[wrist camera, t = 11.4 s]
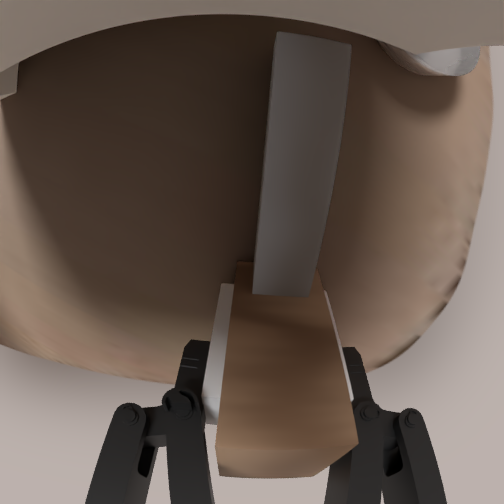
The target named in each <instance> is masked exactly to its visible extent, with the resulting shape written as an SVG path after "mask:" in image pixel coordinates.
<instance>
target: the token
mask: <svg viewBox="0 0 504 504" xmlns="http://www.w3.org/2000/svg"><path fill="white" fill-rule="evenodd" d="M376 40H377V39H376ZM377 42H378V43H379V45H380V46H381V47H382V49H383V50H384V51H385V52H386V53H387V54H388V56H389V57H390V58H392V59H393V60H394V61H395V62H396V63H398V64H399V65H400V66H402V67H403V68H405V69H407V70H409V71H411V72H413V73H416V74H419V75H425V76H461V75H465V74H467V73H469V72H471V71H472V70H473V69H474V68H475V66H476V64H477V62H478V60H479V55H480V46H475V47H463V48H454V49H446V50H439V51H432V52H426V53H421V54H416V55H415V54H413V53H411V52H408V51H406V50H404V49H401V48H399V47H396V46H394V45H391V44H388V43H386V42H383V41H380V40H377Z"/></svg>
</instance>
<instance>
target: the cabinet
mask: <svg viewBox="0 0 504 504" xmlns="http://www.w3.org/2000/svg"><path fill="white" fill-rule="evenodd" d="M204 14H242V15H259V16H271V17H280V18H288V19H295V20H301V21H307V22H312V23H317V24H322V25H327V26H331V27H336V28H340V29H344V30H347V31H351V32H355V33H358V34H361V35H365V36H368V37H371V38H374V39H377V40H380V41H383V42H386V43H388V44H391V45H394V46H396V47H399V48H401V49H404V50H406V51H408V52H411V53H413V54H415V55H416V54H421V53H426V52H432V51H439V50H446V49H454V48H463V47H475V46H499V45H504V0H0V100H1V99H3V98H5V97H8V96H10V95H12V94H14V93H17V76H18V65H19V62H20V61H22V60H24V59H26V58H28V57H30V56H33V55H35V54H37V53H39V52H41V51H44V50H46V49H48V48H51V47H53V46H56V45H58V44H61V43H63V42H66V41H69V40H72V39H74V38H77V37H80V36H84V35H87V34H90V33H93V32H97V31H100V30H104V29H108V28H112V27H116V26H120V25H125V24H130V23H135V22H140V21H146V20H152V19H159V18H167V17H176V16H187V15H204Z"/></svg>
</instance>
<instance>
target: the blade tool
mask: <svg viewBox="0 0 504 504" xmlns="http://www.w3.org/2000/svg"><path fill="white" fill-rule="evenodd" d="M351 50H352V45H350V44H346V43H342V42H338V41H334V40H329V39H324V38H319V37H314V36H308V35H302V34H295V33H288V32H279V31H277V35H276V39H275V43H274V50H273V61H272V72H271V83H270V94H269V104H268V115H267V126H266V137H265V148H264V158H263V169H262V180H261V190H260V201H259V211H258V222H257V232H256V243H255V253H254V262H242V261H237V267H236V275H235V283H234V290H233V298H232V306H231V314H230V322H229V330H228V338H227V346H226V354H225V363H224V371H223V380H222V388H221V397H220V406H219V415H218V424H217V434H216V443H215V449H216V456H217V463H218V469H219V475H220V476H225V477H240V478H297V477H311V476H314V475H316V474H318V473H319V472H320V471H322V470H324V469H325V468H327V467H328V466H329V465H331V464H332V463H334V462H335V461H337V460H338V459H339V458H341V457H342V456H343V455H345V454H346V453H347V452H349V451H350V450H351V449H353V448H354V447H355V446H356V445H358V444H359V442H358V436H357V430H356V425H355V420H354V414H353V409H352V404H351V399H350V395H349V390H348V385H347V381H346V376H345V372H344V367H343V363H342V359H341V355H340V350H339V346H338V342H337V338H336V334H335V330H334V326H333V323H332V319H331V315H330V311H329V308H328V304H327V300H326V297H325V293H324V289H323V286H322V282H321V279H320V276H319V272H318V269H317V267H316V265H317V261H318V257H319V253H320V248H321V244H322V240H323V235H324V231H325V226H326V221H327V217H328V212H329V207H330V202H331V197H332V191H333V186H334V181H335V175H336V169H337V164H338V158H339V151H340V145H341V138H342V132H343V125H344V117H345V110H346V102H347V93H348V84H349V74H350V63H351Z"/></svg>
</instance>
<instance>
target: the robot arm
mask: <svg viewBox="0 0 504 504" xmlns="http://www.w3.org/2000/svg"><path fill="white" fill-rule="evenodd" d="M233 290H234V284H226V283H221V288H220V293H219V299H218V304H217V309H216V315H215V320H214V326H213V331H212V337H211V342H209V341H200V340H192V339H191V340H190V341H189V343H188V344H187V345H186V346H185V347H184V351H183V355H182V359H181V363H180V367H179V371H178V376H177V380H176V384H175V388H172V389H171V390H169V391H167V392H166V393H165V395H164V396H163V398H162V405H161V406H157V407H147V408H141V407H140V406H139V405H137V404H135V403H125V404H122V405H120V406H119V407H118V408H117V410H116V411H115V413H114V415H113V418H112V421H111V423H110V426H109V429H108V432H107V435H106V438H105V441H104V443H103V446H102V449H101V453H100V455H99V459H98V461H97V465H96V468H95V471H94V474H93V478H92V481H91V484H90V488H89V491H88V495H87V499H86V502H85V504H145V503H146V498H147V494H148V489H149V485H150V481H151V476H152V472H153V468H154V464H155V460H156V455H157V452H158V448H159V447H164V446H167V465H168V479H169V490H170V499H171V504H215V502H214V497H213V490H212V484H211V477H210V470H209V463H208V455H207V447H206V439H205V432H204V429H205V422H206V424H214V425H217V424H218V415H219V406H220V397H221V388H222V380H223V371H224V363H225V354H226V346H227V338H228V330H229V322H230V314H231V306H232V298H233ZM324 293H325V297H326V300H327V304H328V308H329V311H330V315H331V319H332V323H333V326H334V330H335V334H336V338H337V342H338V346H339V350H340V355H341V359H342V363H343V367H344V372H345V376H346V381H347V385H348V390H349V395H350V399H351V404H352V409H353V414H354V420H355V425H356V430H357V436H358V442H359V444H358V445H356V446H355V447H354V448H353V449H351V450H350V451H349V452H347V453H346V454H345V455H343V456H342V457H341V458H339V459H338V460H337V461H335V462H334V463H332V464H331V465H330V469H329V477H328V483H327V490H326V496H325V501H324V504H380V502H381V491H382V493H383V498H384V503H385V504H447V502H446V497H445V493H444V488H443V484H442V480H441V476H440V472H439V468H438V465H437V461H436V457H435V454H434V450H433V447H432V444H431V441H430V437H429V434H428V431H427V428H426V425H425V422H424V420H423V417H422V415H421V413H420V412H419V411H417V410H416V409H413V408H407V409H405V410H403V411H402V412H401V413H396V412H391V411H386V410H383V409H381V408H380V407H379V405H377V404H375V402H374V401H373V399H372V395H371V391H370V387H369V384H368V380H367V376H366V373H365V369H364V366H363V362H362V358H361V355H360V354H359V353H358V351H357V350H356V349H355V347H341V343H340V339H339V335H338V331H337V327H336V324H335V320H334V316H333V313H332V309H331V306H330V302H329V299H328V295H327V292H326V291H325V290H324Z"/></svg>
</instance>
